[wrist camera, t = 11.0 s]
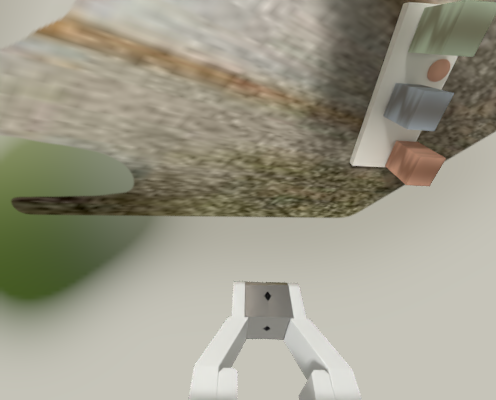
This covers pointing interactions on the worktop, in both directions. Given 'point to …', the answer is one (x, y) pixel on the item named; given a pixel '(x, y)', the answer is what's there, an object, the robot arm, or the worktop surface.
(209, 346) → the robot arm
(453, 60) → the base
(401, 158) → the pink tall block
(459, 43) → the sage green block
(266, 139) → the worktop surface
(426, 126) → the grey tall block
